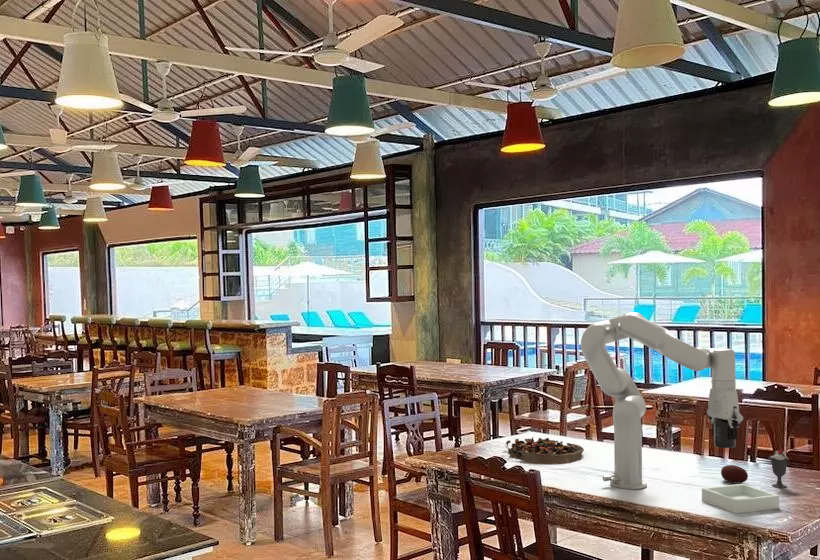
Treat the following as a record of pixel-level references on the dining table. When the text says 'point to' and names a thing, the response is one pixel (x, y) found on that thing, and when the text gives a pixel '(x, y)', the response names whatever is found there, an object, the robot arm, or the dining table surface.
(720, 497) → the tray
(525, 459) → the food dish
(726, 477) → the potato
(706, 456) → the dining table surface
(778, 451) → the sundae
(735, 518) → the dining table surface
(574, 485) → the dining table surface
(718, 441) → the supplement bottle
